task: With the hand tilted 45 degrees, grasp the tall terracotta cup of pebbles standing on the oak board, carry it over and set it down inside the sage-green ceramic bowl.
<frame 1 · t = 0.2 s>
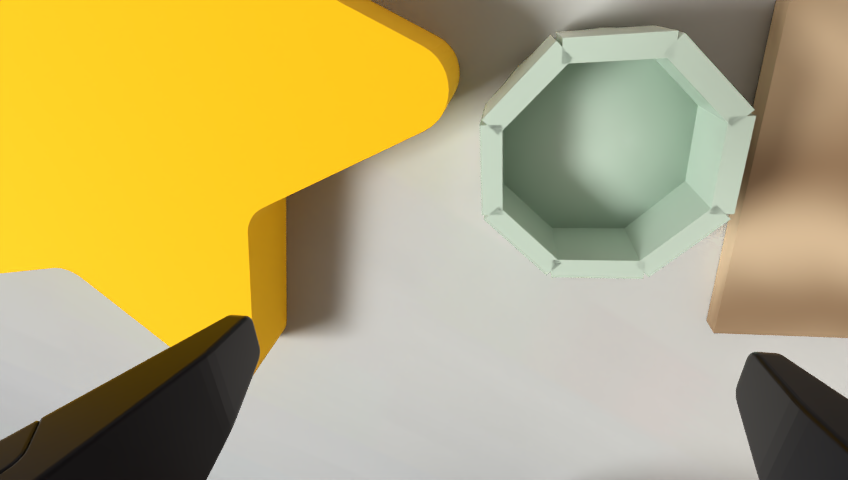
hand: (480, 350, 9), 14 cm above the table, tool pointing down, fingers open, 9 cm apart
bowl: (591, 141, 21), on the table
star: (156, 67, 23), on the table
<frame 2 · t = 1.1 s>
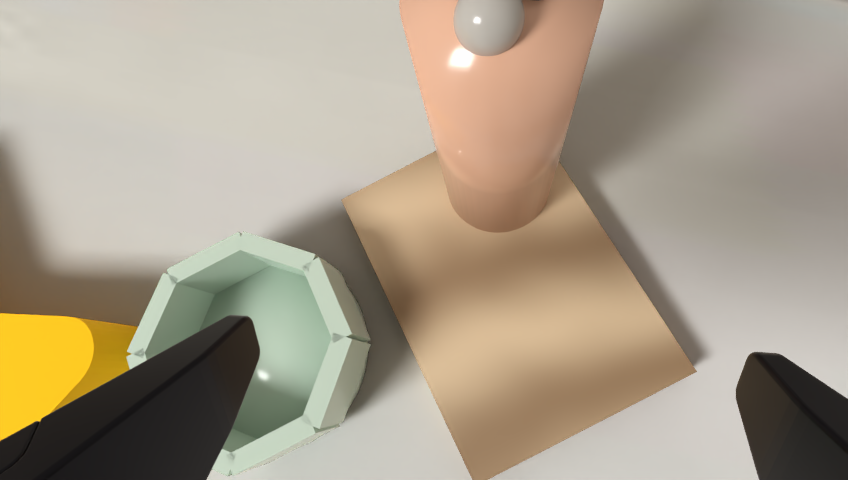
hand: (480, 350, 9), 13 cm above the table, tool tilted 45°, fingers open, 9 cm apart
bowl: (276, 350, 23), on the table
cup: (497, 183, 23), point 1 cm above the table, touching board
board: (501, 281, 23), on the table
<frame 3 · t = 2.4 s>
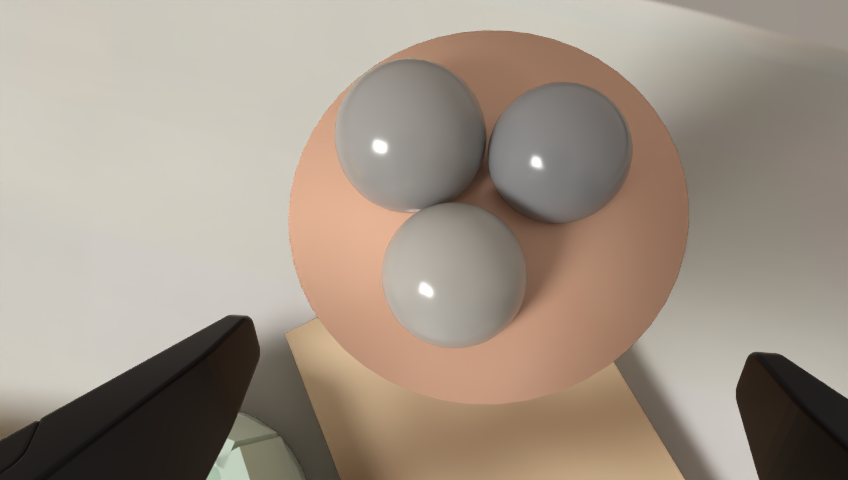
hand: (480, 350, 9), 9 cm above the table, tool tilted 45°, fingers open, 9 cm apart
cup: (489, 320, 17), point 1 cm above the table, touching board
board: (494, 452, 17), on the table
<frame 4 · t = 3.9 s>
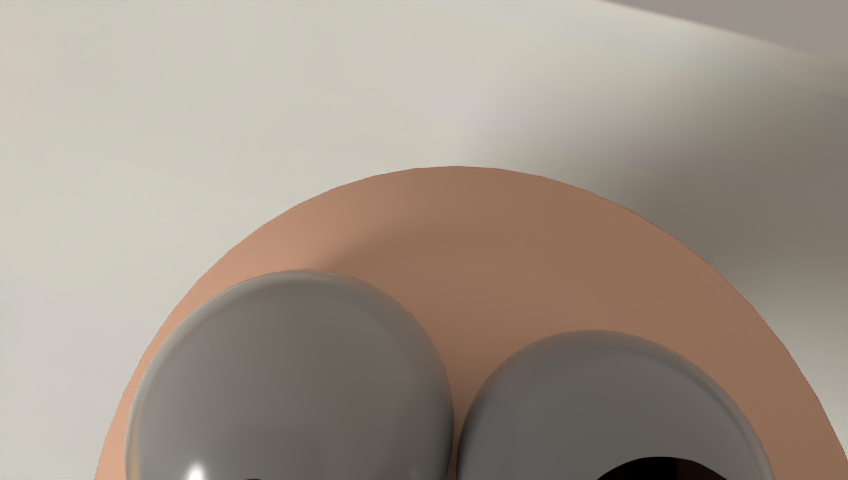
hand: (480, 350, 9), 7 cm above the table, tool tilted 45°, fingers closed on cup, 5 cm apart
cup: (484, 410, 14), point 1 cm above the table, touching board, gripper
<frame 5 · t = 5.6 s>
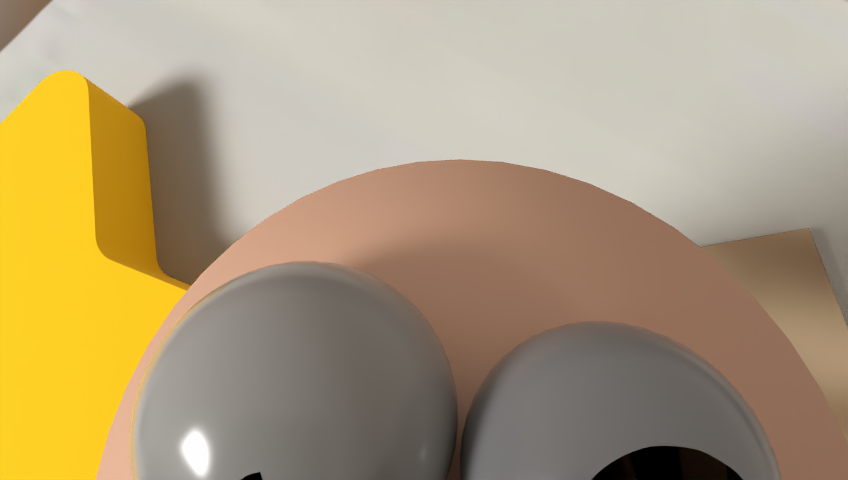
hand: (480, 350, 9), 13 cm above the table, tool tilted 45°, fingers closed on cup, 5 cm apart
cup: (485, 408, 14), point 7 cm above the table, touching gripper
board: (726, 421, 20), on the table
star: (52, 386, 25), on the table
when the fingers open (8 cm above the table, at t = 7.3 s): cup drops 1 cm, resting on bowl.
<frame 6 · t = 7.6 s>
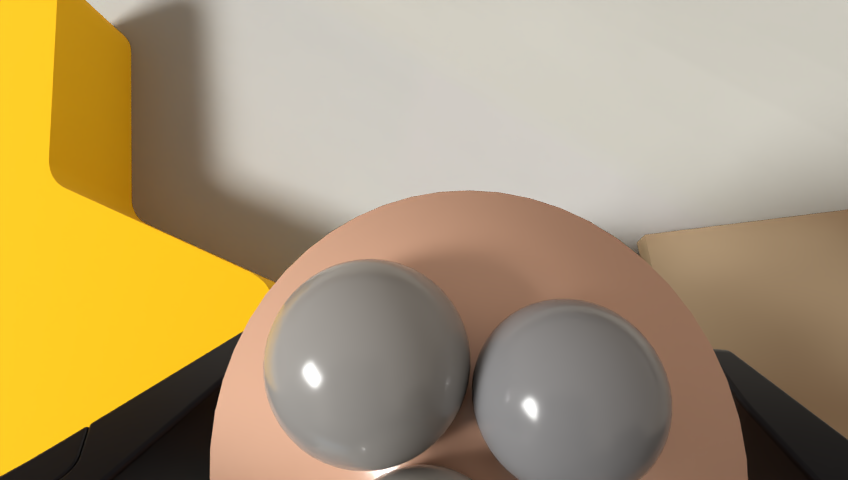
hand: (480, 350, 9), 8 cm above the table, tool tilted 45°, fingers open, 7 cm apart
cup: (485, 409, 16), point 1 cm above the table, touching bowl
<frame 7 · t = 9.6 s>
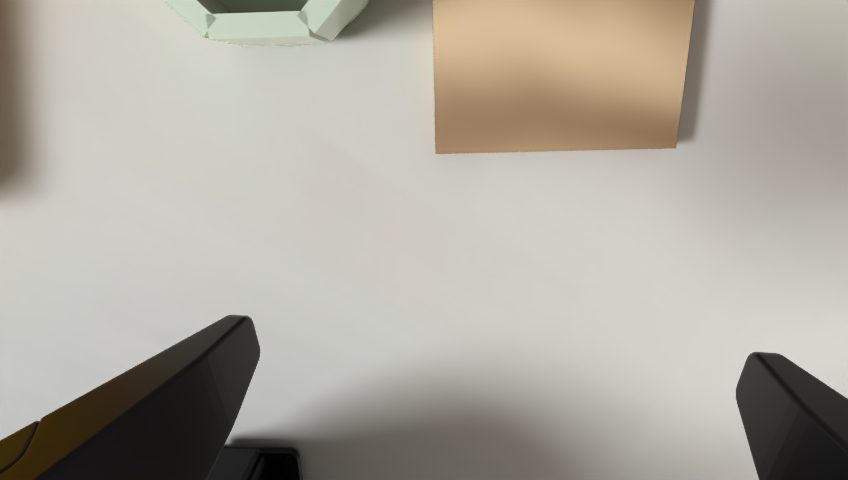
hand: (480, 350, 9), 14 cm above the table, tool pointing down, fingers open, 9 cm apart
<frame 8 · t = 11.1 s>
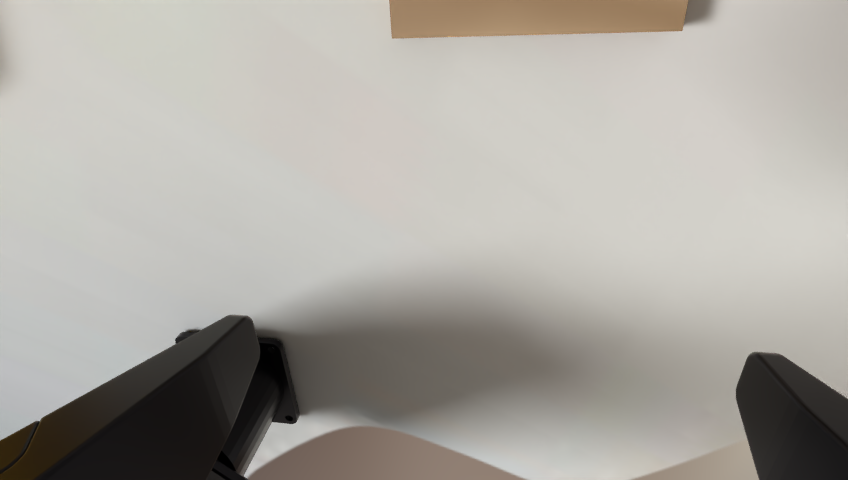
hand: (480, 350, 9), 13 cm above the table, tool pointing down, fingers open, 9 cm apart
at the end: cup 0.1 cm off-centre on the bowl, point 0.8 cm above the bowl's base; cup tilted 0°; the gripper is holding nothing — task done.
